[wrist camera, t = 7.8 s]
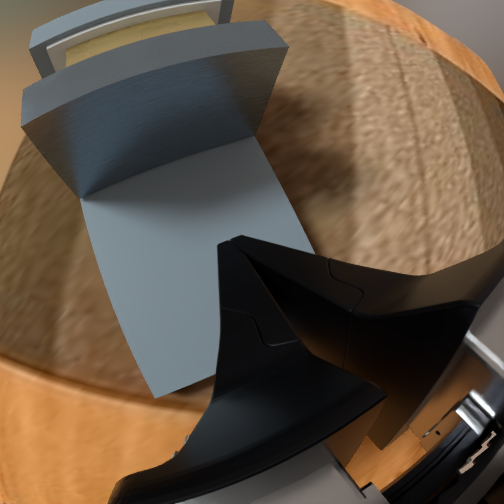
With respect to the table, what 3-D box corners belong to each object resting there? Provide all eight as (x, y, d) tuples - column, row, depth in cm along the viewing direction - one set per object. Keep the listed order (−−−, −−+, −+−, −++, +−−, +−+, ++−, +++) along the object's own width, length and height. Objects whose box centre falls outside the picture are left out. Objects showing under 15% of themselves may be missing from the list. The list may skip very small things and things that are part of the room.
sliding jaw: (255, 135, 18) (289, 46, 11) (79, 199, 15) (20, 126, 8) (238, 104, 19) (261, 16, 11) (72, 162, 15) (23, 84, 8)
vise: (326, 310, 19) (434, 299, 9) (159, 389, 16) (123, 465, 6) (204, 69, 21) (216, -26, 12) (71, 114, 18) (34, 25, 9)
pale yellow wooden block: (211, 113, 18) (222, 34, 12) (99, 151, 16) (66, 79, 9) (197, 85, 19) (203, 10, 12) (92, 120, 17) (65, 49, 10)
